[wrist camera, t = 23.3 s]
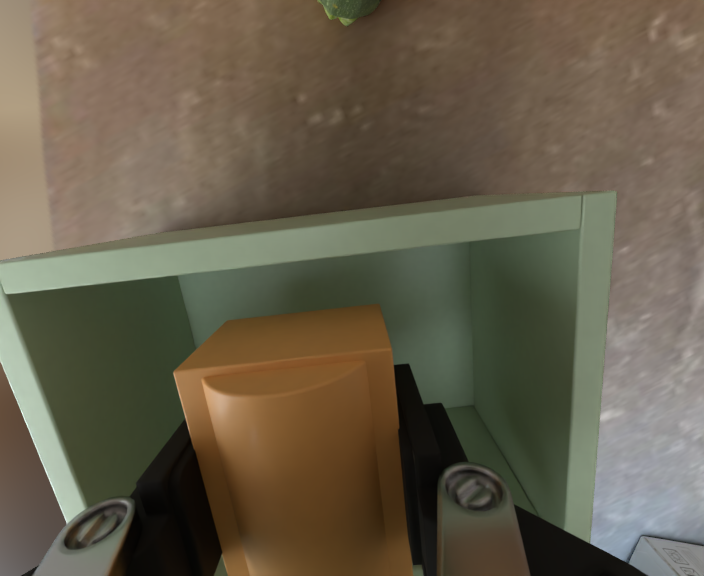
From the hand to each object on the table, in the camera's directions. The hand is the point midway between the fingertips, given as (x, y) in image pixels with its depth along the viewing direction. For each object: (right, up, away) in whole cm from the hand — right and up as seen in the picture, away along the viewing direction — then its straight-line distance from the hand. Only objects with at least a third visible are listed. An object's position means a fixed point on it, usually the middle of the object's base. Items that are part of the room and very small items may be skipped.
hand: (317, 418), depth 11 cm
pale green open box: (0, +2, +7) cm, 8 cm away
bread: (0, 0, 0) cm, 0 cm away
